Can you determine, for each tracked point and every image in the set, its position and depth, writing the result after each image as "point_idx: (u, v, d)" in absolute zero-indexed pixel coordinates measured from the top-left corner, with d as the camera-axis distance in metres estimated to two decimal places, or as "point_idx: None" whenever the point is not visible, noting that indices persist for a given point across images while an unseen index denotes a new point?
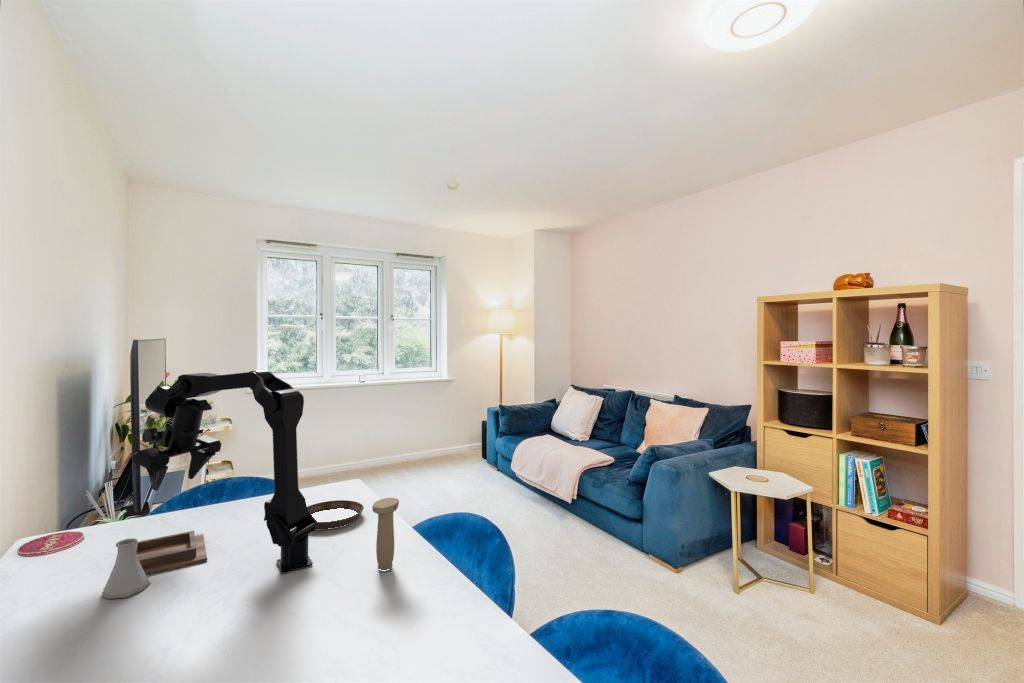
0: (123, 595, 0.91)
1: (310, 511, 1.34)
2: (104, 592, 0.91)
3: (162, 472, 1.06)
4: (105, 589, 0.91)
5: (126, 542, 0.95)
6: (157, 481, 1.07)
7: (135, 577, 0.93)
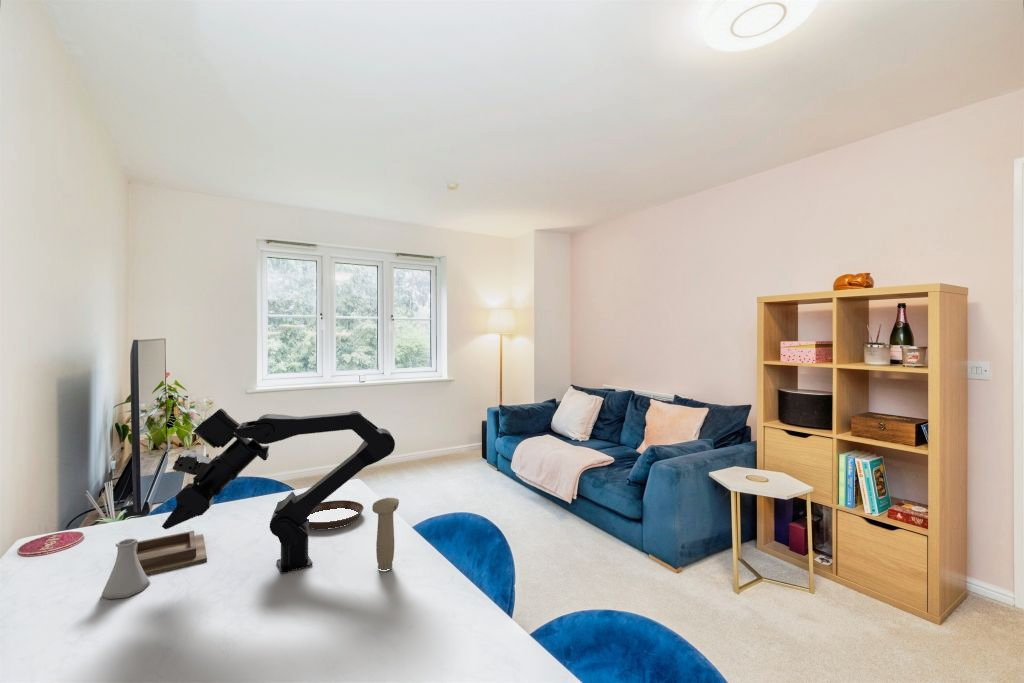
0: (123, 595, 0.91)
1: None
2: (104, 592, 0.91)
3: None
4: (105, 589, 0.91)
5: (126, 542, 0.95)
6: (180, 522, 0.93)
7: (135, 577, 0.93)
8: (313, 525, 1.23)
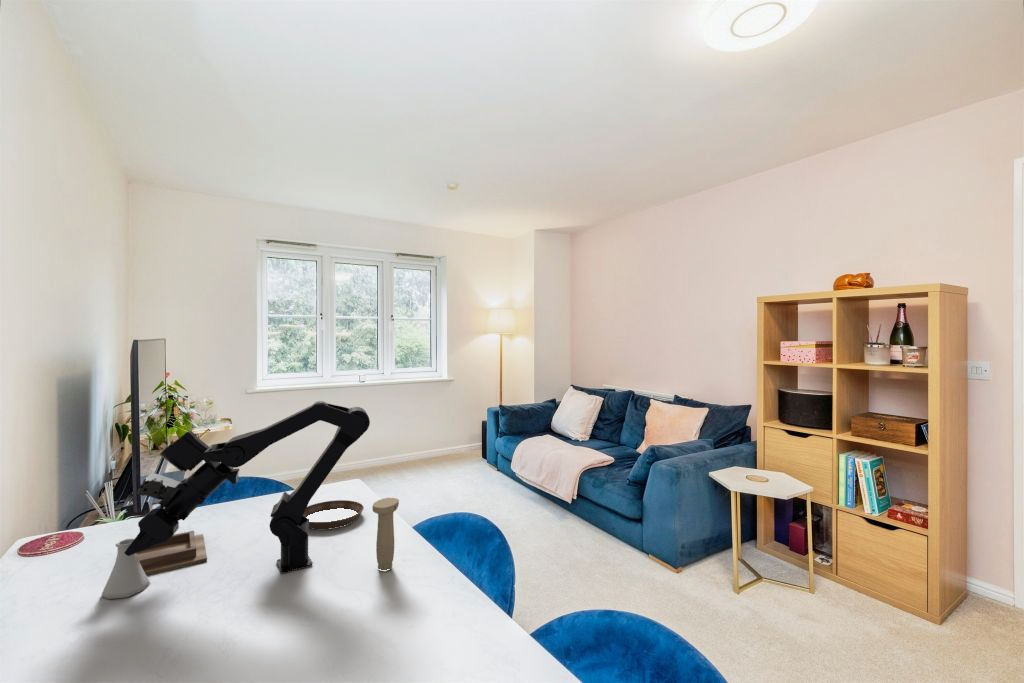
0: (123, 595, 0.91)
1: (310, 511, 1.34)
2: (104, 592, 0.91)
3: None
4: (105, 589, 0.91)
5: (126, 542, 0.95)
6: None
7: (135, 577, 0.93)
8: (313, 525, 1.23)
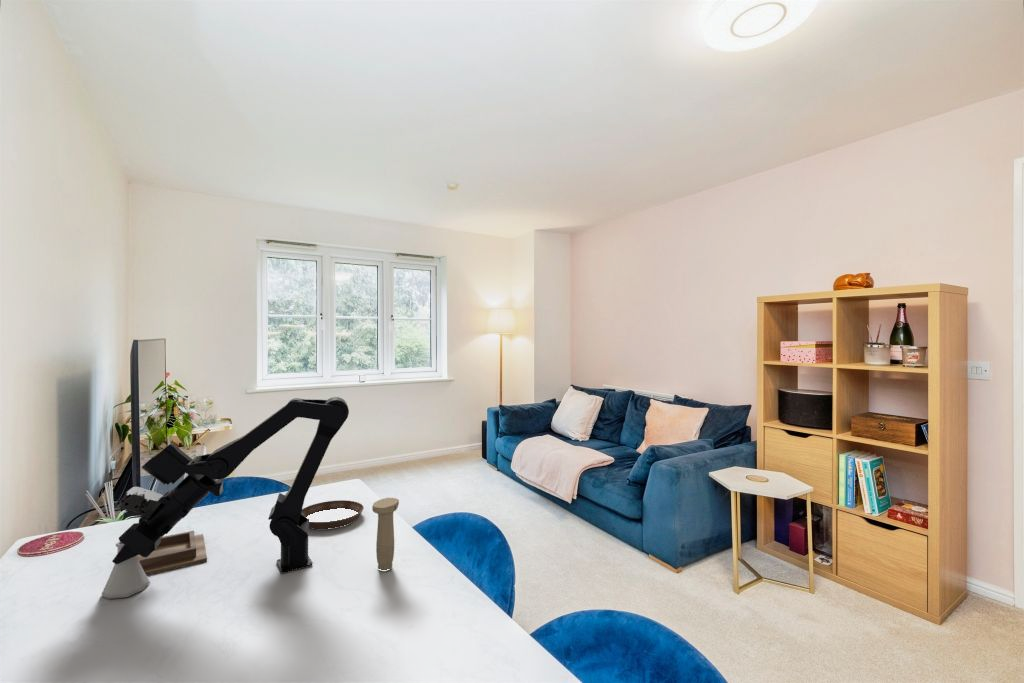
0: (123, 595, 0.91)
1: (310, 511, 1.34)
2: (104, 592, 0.91)
3: None
4: (105, 589, 0.91)
5: None
6: (131, 557, 0.92)
7: (135, 577, 0.93)
8: (313, 525, 1.23)
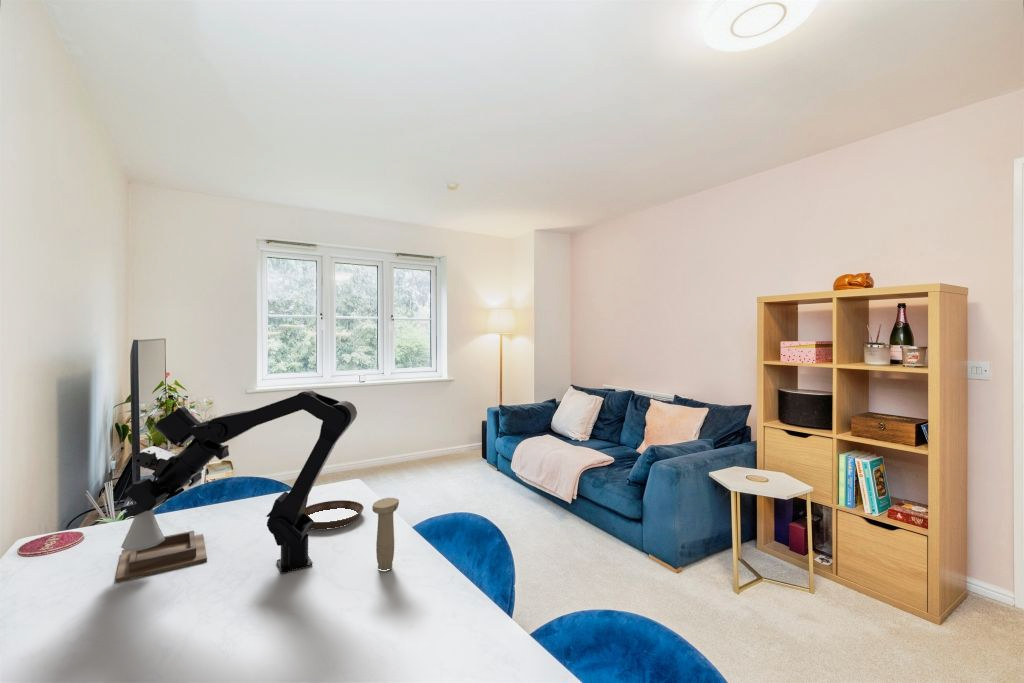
0: (138, 548, 0.98)
1: (310, 511, 1.34)
2: (123, 544, 0.99)
3: None
4: (124, 541, 0.99)
5: None
6: (145, 510, 0.99)
7: (150, 533, 1.00)
8: (313, 525, 1.23)
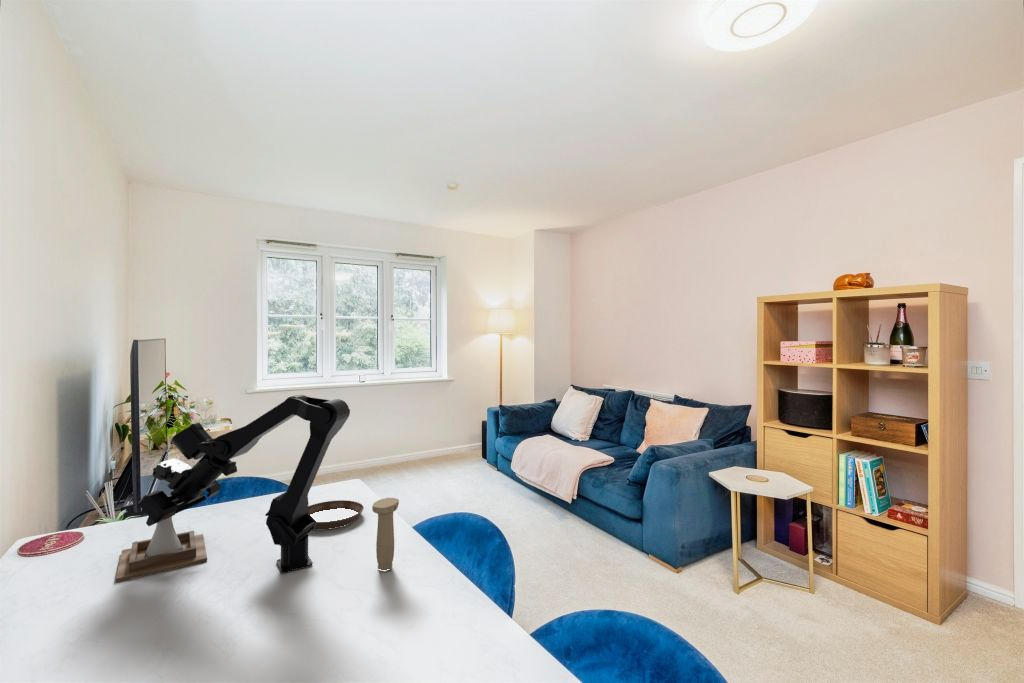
0: None
1: (310, 511, 1.34)
2: (146, 552, 1.06)
3: None
4: (147, 550, 1.06)
5: None
6: (157, 522, 1.04)
7: (168, 543, 1.07)
8: None
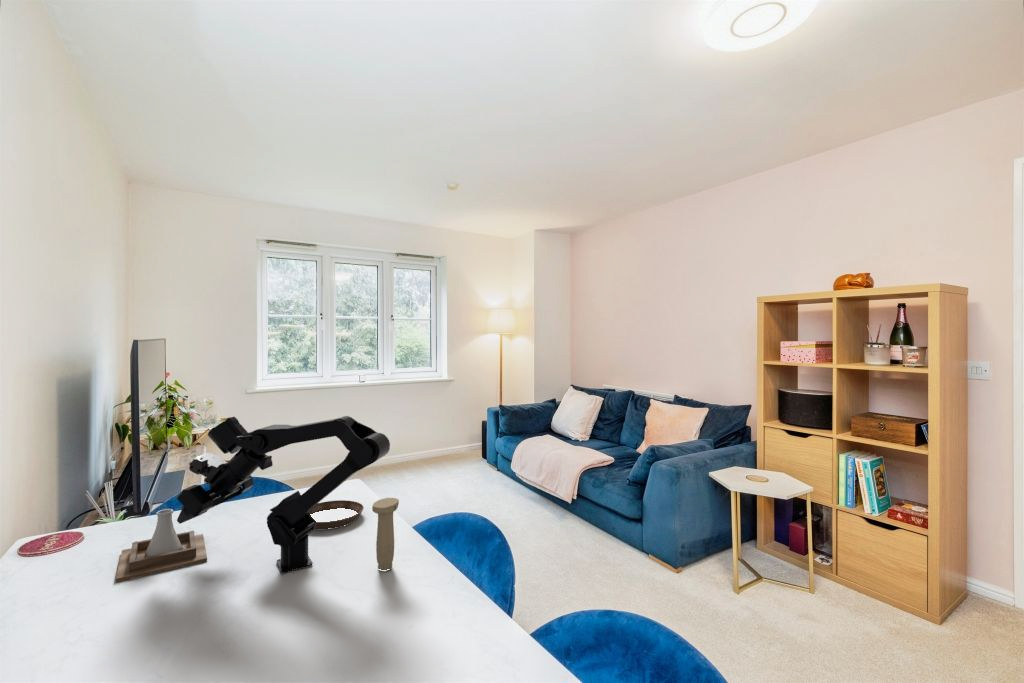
0: None
1: None
2: (146, 552, 1.06)
3: None
4: (147, 550, 1.06)
5: (166, 511, 1.09)
6: (188, 519, 1.02)
7: (168, 543, 1.07)
8: None
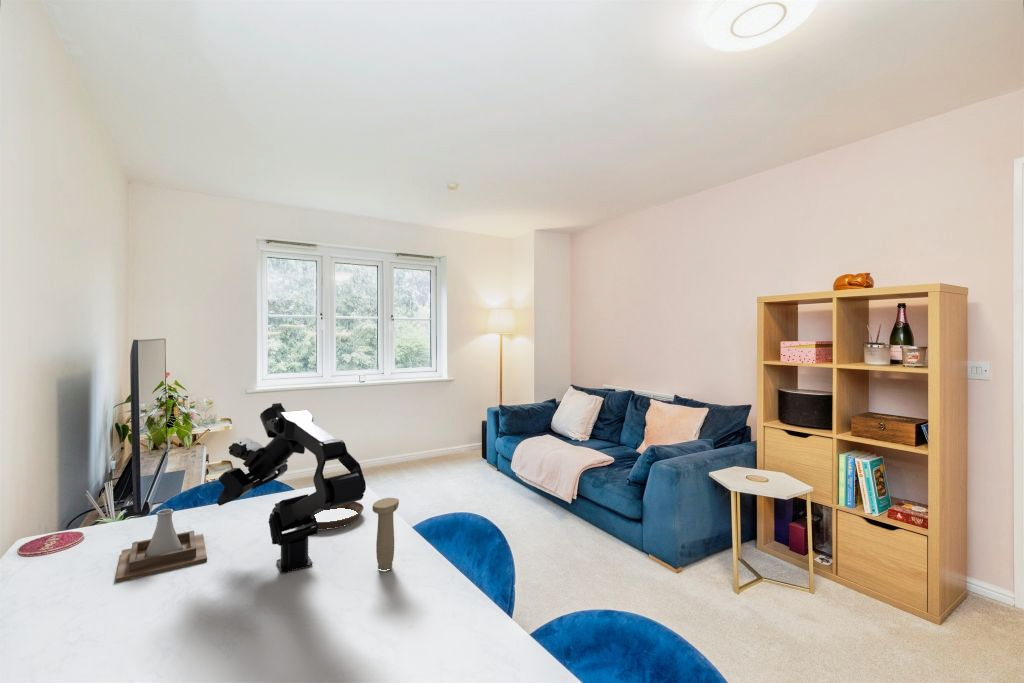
0: None
1: None
2: (146, 552, 1.06)
3: None
4: (147, 550, 1.06)
5: (166, 511, 1.09)
6: (228, 501, 1.04)
7: (168, 543, 1.07)
8: None
